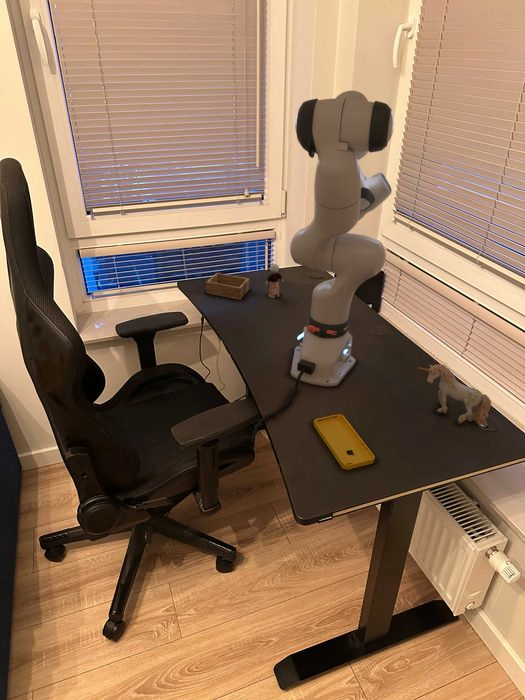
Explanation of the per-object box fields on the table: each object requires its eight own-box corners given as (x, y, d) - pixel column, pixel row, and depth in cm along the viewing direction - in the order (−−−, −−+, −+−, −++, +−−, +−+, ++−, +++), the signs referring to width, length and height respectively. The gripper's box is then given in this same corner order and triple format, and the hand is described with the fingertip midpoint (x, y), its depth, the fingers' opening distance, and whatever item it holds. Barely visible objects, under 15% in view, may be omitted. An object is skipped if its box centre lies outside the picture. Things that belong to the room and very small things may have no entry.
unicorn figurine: (413, 395, 138) (423, 354, 131) (488, 417, 131) (502, 375, 124) (407, 409, 132) (417, 367, 125) (484, 433, 125) (500, 390, 118)
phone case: (341, 417, 129) (341, 413, 128) (375, 462, 115) (376, 458, 114) (312, 423, 126) (312, 419, 125) (344, 470, 113) (344, 466, 112)
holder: (240, 299, 184) (240, 288, 182) (206, 293, 188) (206, 282, 185) (249, 289, 192) (249, 278, 190) (216, 283, 196) (216, 272, 193)
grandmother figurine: (276, 291, 191) (278, 260, 185) (284, 295, 189) (285, 263, 182) (262, 297, 187) (263, 265, 180) (269, 300, 184) (270, 268, 178)
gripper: (347, 197, 171) (316, 221, 179) (334, 213, 155) (301, 239, 162) (358, 211, 172) (327, 235, 180) (346, 229, 156) (313, 254, 164)
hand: (315, 237), depth 171 cm, fingers open, 8 cm apart
